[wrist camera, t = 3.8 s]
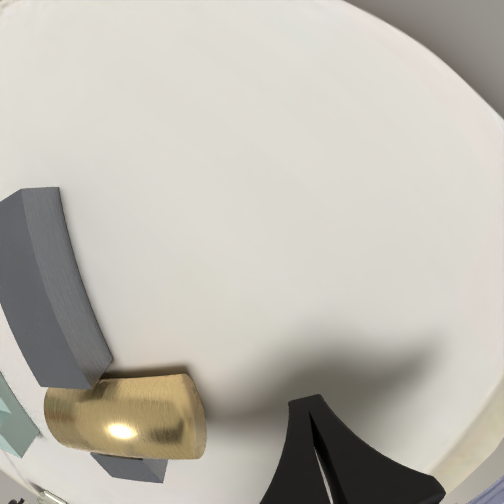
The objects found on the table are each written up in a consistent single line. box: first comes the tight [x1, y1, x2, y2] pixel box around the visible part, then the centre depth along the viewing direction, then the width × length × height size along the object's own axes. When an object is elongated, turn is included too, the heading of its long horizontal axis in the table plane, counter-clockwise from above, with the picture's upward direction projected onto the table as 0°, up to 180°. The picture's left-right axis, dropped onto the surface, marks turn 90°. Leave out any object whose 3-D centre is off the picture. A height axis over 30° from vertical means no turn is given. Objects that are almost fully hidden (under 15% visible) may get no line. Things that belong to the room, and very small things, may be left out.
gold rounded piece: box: [44, 374, 206, 459], centre depth 11 cm, size 8×4×4 cm, turn 102°
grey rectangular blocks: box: [0, 187, 168, 483], centre depth 11 cm, size 4×18×3 cm, turn 12°
